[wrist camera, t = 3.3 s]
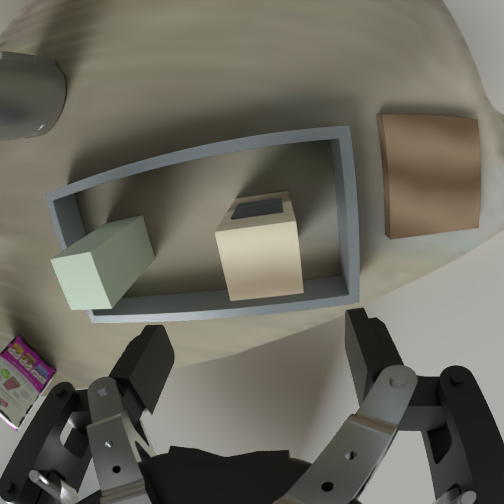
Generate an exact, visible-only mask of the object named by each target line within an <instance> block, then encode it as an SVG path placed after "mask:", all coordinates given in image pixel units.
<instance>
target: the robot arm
mask: <svg viewBox="0 0 504 504" xmlns="http://www.w3.org/2000/svg"><path fill="white" fill-rule="evenodd" d="M65 94H66V84H65V78H64V75H63V73H62V72H61V70H60V69H59V68H58V67H57V66H56V61H55V59H51V58H45V57H40V56H34V55H28V54H22V53H14V52H6V51H1V52H0V142H3V141H9V140H15V139H21V138H30V137H35V136H40V135H43V134H45V133H46V132H47V131H49V130H50V129H51V128H52V126H53V125H54V124H55V122H56V121H57V119H58V117H59V115H60V113H61V111H62V108H63V105H64V100H65ZM345 349H346V354H347V357H348V361H349V365H350V369H351V373H352V377H353V381H354V385H355V389H356V394H357V398H358V402H359V406H360V408H359V409H358V411H357V412H356V414H351V415H350V416H349V417H348V418H347V419H346V421H345V422H344V423H343V425H342V426H341V428H340V429H339V431H338V432H337V433H336V435H335V436H334V437H333V439H332V440H331V441H330V443H329V444H328V445H327V447H326V448H325V449H324V450H323V451H322V453H321V454H320V455H319V456H318V458H317V459H316V460H315V461H314V463H313V464H311V463H309V462H306V461H304V460H300V459H296V458H290V455H289V450H281V451H256V452H252V453H247V454H242V455H236V456H230V457H222V456H219V455H216V454H212V453H209V452H206V451H202V450H199V449H195V448H184V447H177V446H170V449H169V452H168V453H165V454H160V455H157V454H156V453H155V451H154V449H153V447H152V444H151V442H150V440H149V437H148V435H147V433H146V430H145V428H144V425H143V423H142V421H141V419H140V417H141V415H142V414H145V415H152V414H153V411H154V409H155V406H156V404H157V402H158V399H159V397H160V394H161V392H162V389H163V387H164V385H165V382H166V380H167V377H168V375H169V373H170V371H171V368H172V366H173V363H174V358H175V356H174V350H173V348H172V345H171V343H170V340H169V338H168V335H167V333H166V330H165V328H164V326H163V325H146V326H145V328H144V329H143V331H142V332H141V334H140V335H139V336H137V337H135V338H134V339H133V340H132V341H131V342H130V343H129V344H128V346H127V347H126V349H125V351H124V352H123V354H122V355H121V357H120V358H119V360H118V361H117V363H116V365H115V366H114V368H113V369H112V371H111V373H110V374H109V376H108V377H102V378H99V379H97V380H95V381H94V382H93V383H92V384H91V385H90V386H89V388H88V389H85V390H75V388H74V387H73V385H72V384H71V383H69V382H61V383H59V384H57V385H55V386H54V387H53V388H52V389H51V391H50V392H49V394H48V395H47V397H46V399H45V400H44V402H43V403H42V405H41V407H40V408H39V410H38V411H37V413H36V415H35V416H34V418H33V420H32V421H31V423H30V425H29V426H28V428H27V430H26V432H25V433H24V435H23V437H22V439H21V440H20V442H19V444H18V446H17V448H16V449H15V451H14V453H13V455H12V457H11V459H10V461H9V463H8V464H7V466H6V469H5V471H4V472H3V474H2V477H1V479H0V496H1V498H2V499H3V500H5V501H6V502H7V503H9V504H362V503H361V502H359V501H358V498H359V497H360V495H361V494H362V492H363V491H364V490H365V488H366V486H367V485H368V484H369V482H370V480H371V479H372V477H373V476H374V474H375V472H376V470H377V469H378V467H379V465H380V464H381V462H382V460H383V458H384V457H385V455H386V453H387V451H388V450H389V448H390V446H391V444H392V442H393V440H394V439H395V437H396V434H397V433H398V431H399V430H402V431H421V433H422V436H423V441H424V445H425V449H426V453H427V457H428V461H429V466H430V470H431V476H432V481H433V487H434V492H435V498H436V501H435V502H433V503H432V504H504V443H503V440H502V438H501V435H500V432H499V430H498V427H497V425H496V423H495V420H494V418H493V416H492V413H491V411H490V409H489V407H488V404H487V402H486V400H485V399H484V396H483V394H482V392H481V390H480V388H479V386H478V384H477V382H476V380H475V378H474V376H473V374H472V373H471V372H470V370H468V369H467V368H465V367H463V366H456V365H455V366H450V367H447V368H446V369H444V370H443V371H442V373H441V374H440V377H424V376H418V375H416V373H415V372H414V371H413V370H412V369H411V368H409V367H407V366H404V364H403V362H402V359H401V357H400V355H399V353H398V351H397V349H396V346H395V344H394V342H393V341H392V338H391V336H390V334H389V332H388V330H387V328H386V326H385V324H384V323H383V322H382V321H380V320H379V319H378V318H369V319H368V316H367V314H366V312H365V310H364V308H356V309H350V310H346V313H345ZM67 421H68V422H69V423H70V425H71V426H72V427H73V428H72V430H71V432H70V434H69V436H68V438H67V440H66V442H65V444H64V446H63V445H62V443H61V441H60V434H61V432H62V430H63V428H64V427H65V425H66V423H67ZM92 457H93V462H94V466H95V470H96V474H97V478H98V481H99V485H100V488H101V489H100V490H98V491H96V492H95V493H93V494H91V495H89V496H88V497H86V498H84V499H82V500H81V501H78V491H79V488H80V486H81V483H82V480H83V478H84V475H85V473H86V470H87V468H88V465H89V463H90V460H91V458H92Z"/></svg>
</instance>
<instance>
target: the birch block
mask: <svg viewBox="0 0 504 504" xmlns="http://www.w3.org/2000/svg"><path fill="white" fill-rule="evenodd" d="M215 235H216V240H217V244H218V249H219V253H220V258H221V262H222V267H223V271H224V275H225V280H226V284H227V288H228V293H229V297H230V301H235V300H245V299H255V298H264V297H274V296H282V295H291V294H299V293H304V291H303V280H302V270H301V260H300V251H299V242H298V233H297V225H296V219H295V215H294V211H293V207H292V204H291V200H290V196H289V192H288V191H284V192H276V193H269V194H262V195H255V196H248V197H242V198H236V199H235V200H234V202H233V203H232V205H231V207H230V208H229V210H228V211H227V213H226V215H225V216H224V218H223V219H222V221H221V223H220V224H219V226H218V228H217V229H216V231H215Z"/></svg>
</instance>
